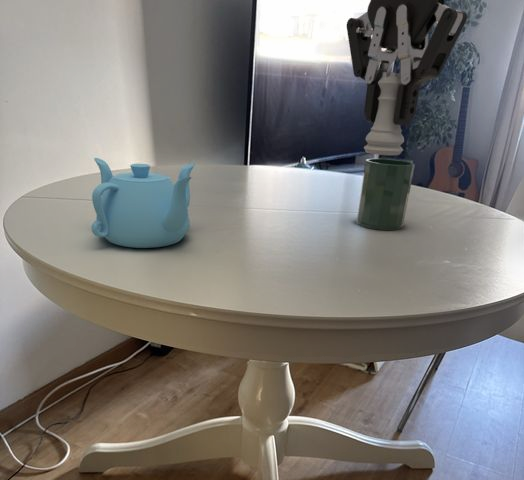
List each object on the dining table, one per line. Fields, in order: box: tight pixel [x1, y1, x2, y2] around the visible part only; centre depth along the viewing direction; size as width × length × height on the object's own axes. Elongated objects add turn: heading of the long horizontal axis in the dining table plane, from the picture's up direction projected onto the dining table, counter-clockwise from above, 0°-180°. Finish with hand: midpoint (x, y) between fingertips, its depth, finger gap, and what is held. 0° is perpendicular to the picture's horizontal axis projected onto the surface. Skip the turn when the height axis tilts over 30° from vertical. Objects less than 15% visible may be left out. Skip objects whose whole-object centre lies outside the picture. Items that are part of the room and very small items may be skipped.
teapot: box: [91, 157, 196, 249], centre depth 68 cm, size 15×15×10 cm
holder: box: [356, 158, 416, 231], centre depth 83 cm, size 8×8×10 cm
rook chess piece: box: [363, 71, 405, 156], centre depth 53 cm, size 4×4×8 cm
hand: (387, 122), depth 53 cm, fingers closed on rook chess piece, 3 cm apart
